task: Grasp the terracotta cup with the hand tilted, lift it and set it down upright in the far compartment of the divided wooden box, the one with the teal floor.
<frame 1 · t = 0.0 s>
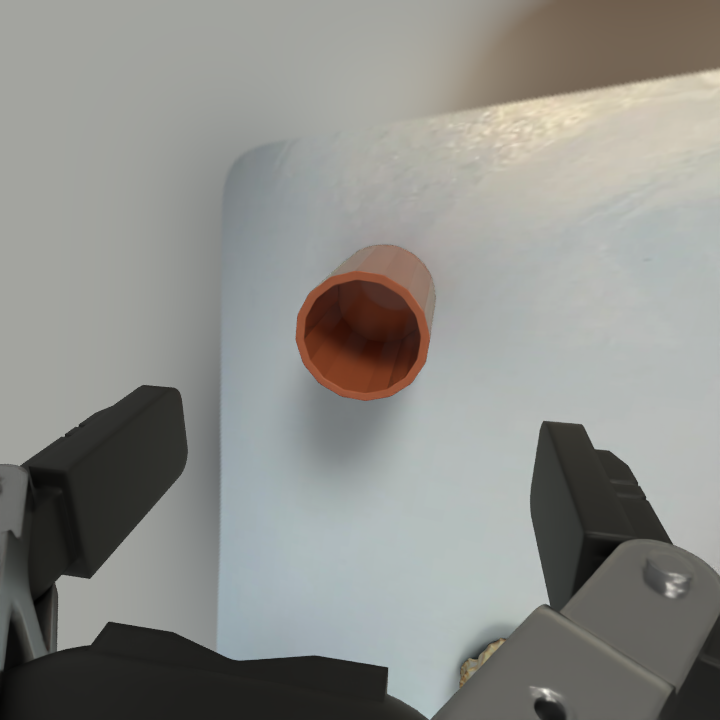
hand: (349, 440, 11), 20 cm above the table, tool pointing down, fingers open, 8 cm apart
seashell: (511, 672, 39), on the table
cup: (383, 296, 31), on the table
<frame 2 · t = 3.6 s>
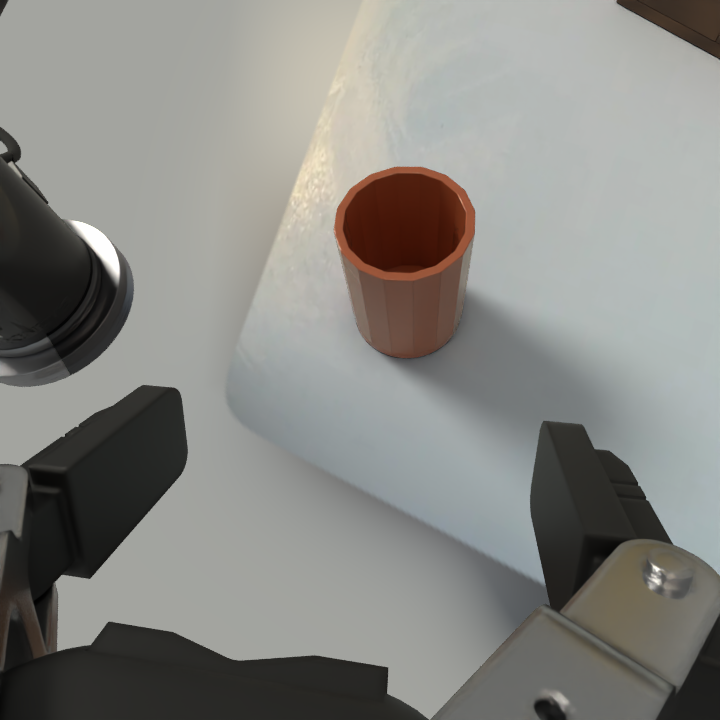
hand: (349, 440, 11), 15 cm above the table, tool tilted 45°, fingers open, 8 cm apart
cup: (407, 310, 30), on the table
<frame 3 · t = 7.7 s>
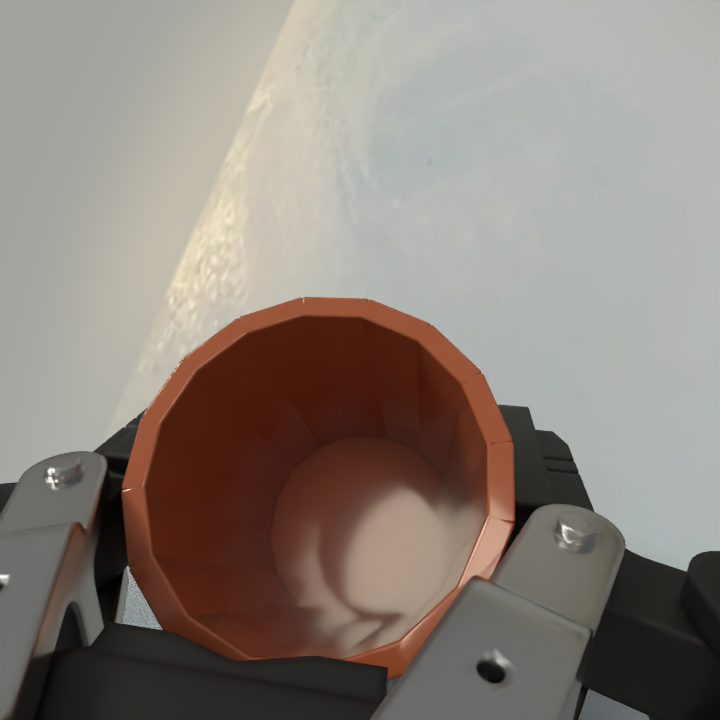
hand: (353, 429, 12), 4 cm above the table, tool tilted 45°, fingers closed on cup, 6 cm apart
cup: (364, 528, 15), on the table, touching gripper
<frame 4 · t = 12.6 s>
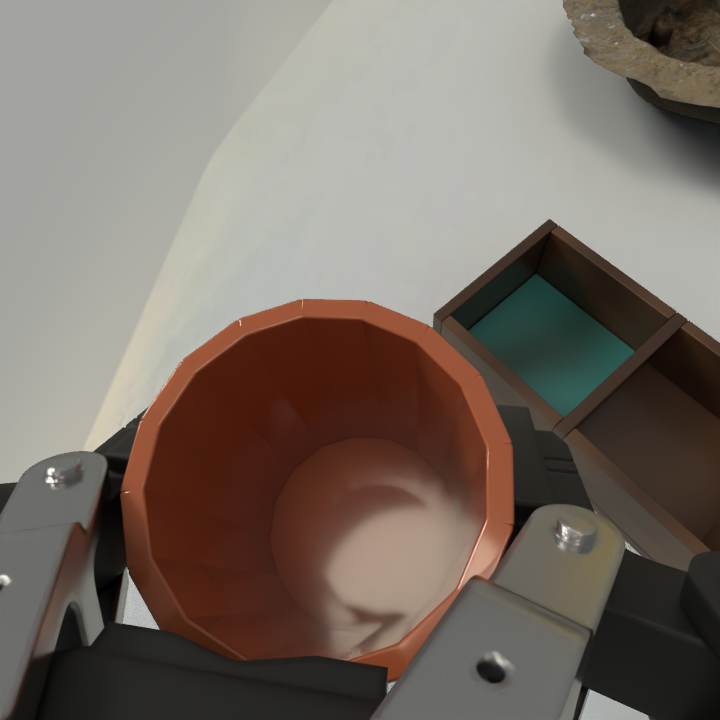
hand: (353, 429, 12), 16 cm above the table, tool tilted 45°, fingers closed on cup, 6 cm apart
divided wooden box: (592, 406, 28), on the table
cup: (364, 529, 15), point 12 cm above the table, touching gripper
when the fingers open (5 cm above the table, at t = 17.9 s): cup stays where it is, resting on divided wooden box.
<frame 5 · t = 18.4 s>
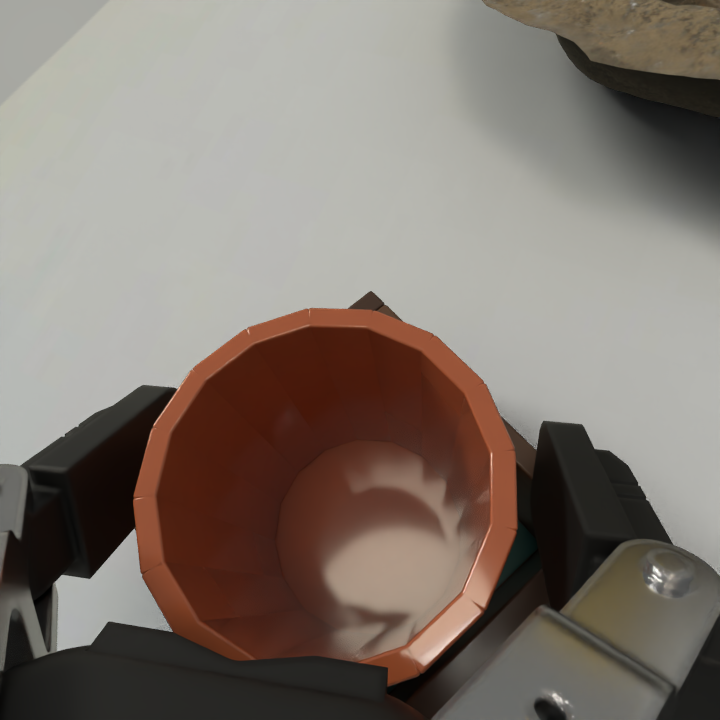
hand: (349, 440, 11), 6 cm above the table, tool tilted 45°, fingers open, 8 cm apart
stone bowl: (719, 38, 24), on the table
divided wooden box: (456, 642, 15), on the table
cup: (368, 532, 15), point 1 cm above the table, touching divided wooden box
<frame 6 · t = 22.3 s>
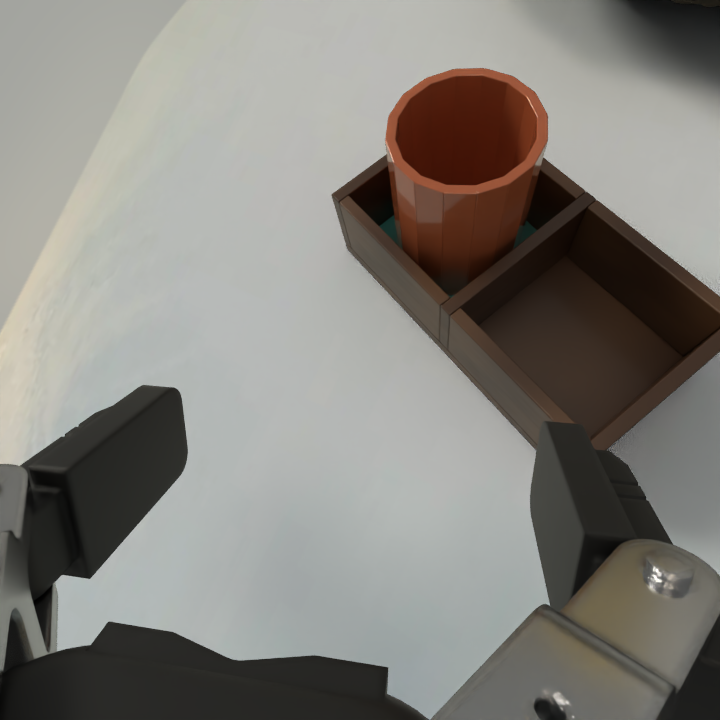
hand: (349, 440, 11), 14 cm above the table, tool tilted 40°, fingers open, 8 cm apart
divided wooden box: (505, 301, 27), on the table
cup: (457, 244, 27), point 1 cm above the table, touching divided wooden box
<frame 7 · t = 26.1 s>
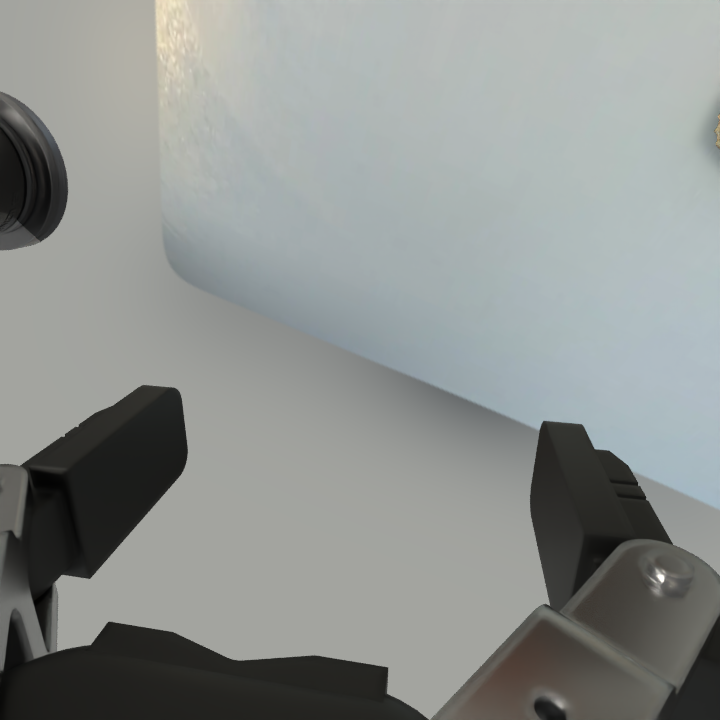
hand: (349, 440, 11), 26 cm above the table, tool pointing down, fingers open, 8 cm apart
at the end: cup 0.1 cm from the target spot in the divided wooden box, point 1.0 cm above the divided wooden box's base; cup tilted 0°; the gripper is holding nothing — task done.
